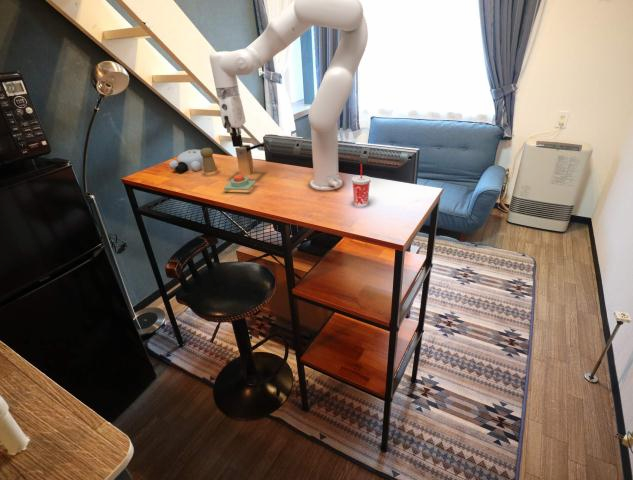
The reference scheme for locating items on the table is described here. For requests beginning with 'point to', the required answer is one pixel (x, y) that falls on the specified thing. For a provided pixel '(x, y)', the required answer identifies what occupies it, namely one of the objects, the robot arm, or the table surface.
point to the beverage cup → (361, 190)
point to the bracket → (244, 160)
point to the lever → (258, 145)
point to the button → (239, 178)
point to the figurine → (187, 161)
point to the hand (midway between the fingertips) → (238, 146)
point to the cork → (208, 160)
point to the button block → (239, 185)
